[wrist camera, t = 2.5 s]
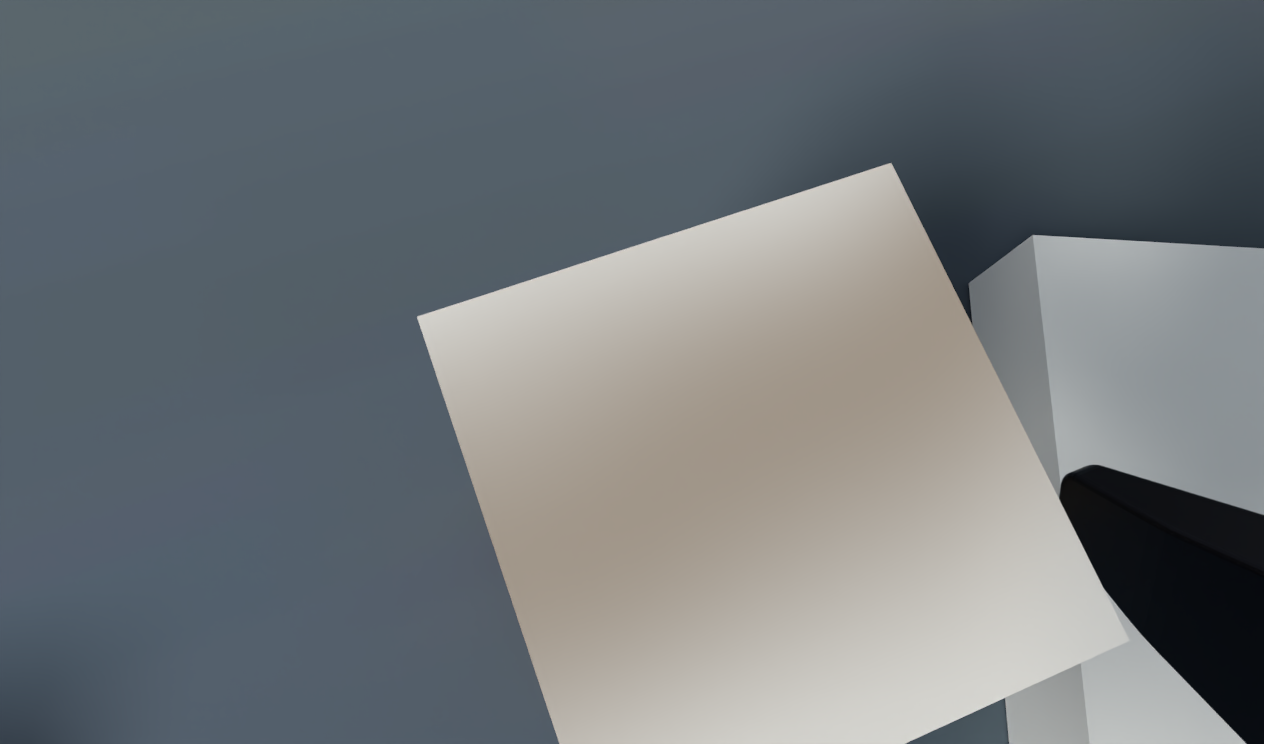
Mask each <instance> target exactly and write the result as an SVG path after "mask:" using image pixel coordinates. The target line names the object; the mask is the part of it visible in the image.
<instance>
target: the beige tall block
mask: <svg viewBox="0 0 1264 744" xmlns="http://www.w3.org/2000/svg"><path fill="white" fill-rule="evenodd" d="M417 318H418V321H419V324H420V327H421V330H422V333H423V336H424V339H425V342H426V345H427V348H428V351H429V354H430V357H431V360H432V363H433V366H434V369H435V372H436V375H437V378H438V381H439V384H440V387H441V390H442V393H443V396H444V399H445V402H446V405H447V408H448V411H449V414H450V417H451V420H452V423H453V426H454V429H455V432H456V435H457V438H458V441H459V444H460V447H461V450H462V453H463V456H464V459H465V462H466V465H467V468H468V471H469V474H470V477H471V480H472V483H473V486H474V489H475V492H476V495H477V498H478V501H479V504H480V507H481V510H482V513H483V516H484V519H485V522H486V525H487V528H488V531H489V534H490V537H491V540H492V543H493V546H494V549H495V552H496V555H497V558H498V561H499V564H500V567H501V570H502V573H503V576H504V579H505V582H506V585H507V588H508V591H509V594H510V597H511V600H512V603H513V606H514V609H515V612H516V615H517V618H518V621H519V624H520V627H521V630H522V633H523V636H524V639H525V642H526V645H527V648H528V651H529V654H530V657H531V660H532V663H533V666H534V669H535V672H536V675H537V678H538V681H539V684H540V687H541V690H542V693H543V696H544V699H545V702H546V705H547V708H548V711H549V714H550V717H551V720H552V723H553V726H554V729H555V732H556V735H557V738H558V741H559V744H905V743H907V742H909V741H912V740H914V739H916V738H918V737H920V736H923V735H925V734H927V733H929V732H931V731H933V730H936V729H938V728H940V727H942V726H944V725H947V724H949V723H951V722H953V721H955V720H957V719H960V718H962V717H964V716H966V715H968V714H971V713H973V712H975V711H977V710H979V709H981V708H984V707H986V706H988V705H990V704H992V703H995V702H997V701H999V700H1001V699H1003V698H1005V697H1008V696H1010V695H1012V694H1014V693H1016V692H1019V691H1021V690H1023V689H1025V688H1027V687H1029V686H1032V685H1034V684H1036V683H1038V682H1040V681H1043V680H1045V679H1047V678H1049V677H1051V676H1053V675H1056V674H1058V673H1060V672H1062V671H1064V670H1067V669H1069V668H1071V667H1073V666H1075V665H1078V664H1080V663H1082V662H1084V661H1086V660H1088V659H1091V658H1093V657H1095V656H1097V655H1099V654H1102V653H1104V652H1106V651H1108V650H1110V649H1112V648H1115V647H1117V646H1119V645H1121V644H1123V643H1126V642H1128V641H1130V640H1129V638H1128V636H1127V634H1126V632H1125V630H1124V628H1123V626H1122V624H1121V622H1120V620H1119V618H1118V616H1117V614H1116V612H1115V610H1114V608H1113V606H1112V604H1111V602H1110V600H1109V598H1108V596H1107V594H1106V592H1105V590H1104V588H1103V586H1102V584H1101V582H1100V580H1099V578H1098V576H1097V574H1096V572H1095V570H1094V568H1093V566H1092V564H1091V562H1090V560H1089V558H1088V556H1087V554H1086V552H1085V550H1084V548H1083V546H1082V544H1081V542H1080V540H1079V538H1078V536H1077V534H1076V532H1075V530H1074V528H1073V526H1072V524H1071V522H1070V520H1069V518H1068V516H1067V514H1066V512H1065V510H1064V508H1063V506H1062V504H1061V502H1060V500H1059V498H1058V496H1057V494H1056V492H1055V490H1054V488H1053V486H1052V484H1051V482H1050V480H1049V478H1048V476H1047V474H1046V472H1045V470H1044V468H1043V466H1042V464H1041V462H1040V460H1039V458H1038V456H1037V454H1036V452H1035V450H1034V448H1033V446H1032V444H1031V442H1030V440H1029V438H1028V436H1027V434H1026V432H1025V430H1024V428H1023V426H1022V424H1021V422H1020V420H1019V418H1018V416H1017V414H1016V412H1015V410H1014V408H1013V406H1012V404H1011V402H1010V400H1009V398H1008V396H1007V394H1006V392H1005V390H1004V388H1003V386H1002V384H1001V382H1000V380H999V378H998V376H997V374H996V372H995V370H994V368H993V366H992V364H991V362H990V360H989V358H988V356H987V354H986V352H985V350H984V348H983V346H982V344H981V342H980V340H979V338H978V336H977V334H976V332H975V330H974V328H973V326H972V324H971V322H970V320H969V318H968V316H967V314H966V312H965V310H964V308H963V306H962V304H961V302H960V300H959V298H958V296H957V294H956V292H955V290H954V288H953V286H952V284H951V282H950V280H949V278H948V276H947V274H946V272H945V270H944V268H943V266H942V264H941V262H940V260H939V258H938V256H937V254H936V252H935V250H934V248H933V246H932V244H931V242H930V240H929V238H928V236H927V234H926V232H925V230H924V228H923V226H922V224H921V222H920V220H919V218H918V216H917V214H916V212H915V210H914V208H913V206H912V204H911V202H910V200H909V198H908V196H907V194H906V192H905V190H904V188H903V186H902V184H901V181H900V180H899V177H898V175H897V173H896V171H895V169H894V167H893V165H892V163H889V164H886V165H883V166H880V167H877V168H874V169H871V170H868V171H865V172H861V173H858V174H855V175H852V176H849V177H846V178H843V179H840V180H837V181H834V182H831V183H828V184H825V185H821V186H818V187H815V188H812V189H809V190H806V191H803V192H800V193H797V194H794V195H791V196H788V197H785V198H781V199H778V200H775V201H772V202H769V203H766V204H763V205H760V206H757V207H754V208H751V209H748V210H745V211H741V212H738V213H735V214H732V215H729V216H726V217H723V218H720V219H717V220H714V221H711V222H708V223H705V224H701V225H698V226H695V227H692V228H689V229H686V230H683V231H680V232H677V233H674V234H671V235H668V236H664V237H661V238H658V239H655V240H652V241H649V242H646V243H643V244H640V245H637V246H634V247H631V248H628V249H624V250H621V251H618V252H615V253H612V254H609V255H606V256H603V257H600V258H597V259H594V260H591V261H588V262H584V263H581V264H578V265H575V266H572V267H569V268H566V269H563V270H560V271H557V272H554V273H551V274H548V275H544V276H541V277H538V278H535V279H532V280H529V281H526V282H523V283H520V284H517V285H514V286H511V287H507V288H504V289H501V290H498V291H495V292H492V293H489V294H486V295H483V296H480V297H477V298H474V299H471V300H467V301H464V302H461V303H458V304H455V305H452V306H449V307H446V308H443V309H440V310H437V311H434V312H431V313H427V314H424V315H421V316H418V317H417Z"/></svg>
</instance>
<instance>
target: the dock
mask: <svg viewBox="0 0 1264 744" xmlns="http://www.w3.org/2000/svg"><path fill="white" fill-rule="evenodd" d="M969 293H970V304H971V315H972V326H973V328H974V330H975V332H976V334H977V336H978V338H979V340H980V342H981V344H982V346H983V348H984V350H985V352H986V354H987V356H988V358H989V360H990V362H991V364H992V366H993V368H994V370H995V372H996V374H997V376H998V378H999V380H1000V382H1001V384H1002V386H1003V388H1004V390H1005V392H1006V394H1007V396H1008V398H1009V400H1010V402H1011V404H1012V406H1013V408H1014V410H1015V412H1016V414H1017V416H1018V418H1019V420H1020V422H1021V424H1022V426H1023V428H1024V430H1025V432H1026V434H1027V436H1028V438H1029V440H1030V442H1031V444H1032V446H1033V448H1034V450H1035V452H1036V454H1037V456H1038V458H1039V460H1040V462H1041V464H1042V466H1043V468H1044V470H1045V472H1046V474H1047V476H1048V478H1049V480H1050V482H1051V484H1052V486H1053V488H1054V490H1055V492H1056V494H1057V496H1058V498H1059V495H1060V487H1061V482H1062V479H1063V477H1064V476H1065V475H1066V474H1068V473H1070V472H1073V471H1075V470H1077V469H1080V468H1082V467H1085V466H1088V465H1101V466H1105V467H1108V468H1111V469H1115V470H1118V471H1121V472H1124V473H1128V474H1131V475H1134V476H1138V477H1141V478H1144V479H1147V480H1151V481H1154V482H1157V483H1161V484H1164V485H1167V486H1170V487H1174V488H1177V489H1180V490H1184V491H1187V492H1190V493H1193V494H1197V495H1200V496H1203V497H1207V498H1210V499H1213V500H1216V501H1220V502H1223V503H1226V504H1230V505H1233V506H1236V507H1240V508H1243V509H1246V510H1249V511H1253V512H1256V513H1259V514H1263V515H1264V249H1263V248H1246V247H1229V246H1212V245H1195V244H1178V243H1161V242H1144V241H1127V240H1110V239H1093V238H1076V237H1059V236H1042V235H1032V236H1031V237H1029V238H1028V239H1027V240H1025V241H1024V242H1023V243H1021V244H1020V245H1019V246H1017V247H1016V248H1015V249H1013V250H1012V251H1011V252H1009V253H1008V254H1007V255H1005V256H1004V257H1003V258H1001V259H1000V260H999V261H997V262H996V263H995V264H993V265H992V266H991V267H989V268H988V269H987V270H985V271H984V272H983V273H982V274H980V275H979V276H978V277H976V278H975V279H974V280H972V281H971V282H970V283H969ZM1105 592H1106V591H1105ZM1106 594H1107V596H1108V598H1109V600H1110V602H1111V604H1112V606H1113V608H1114V610H1115V612H1116V614H1117V616H1118V618H1119V620H1120V622H1121V624H1122V626H1123V628H1124V630H1125V632H1126V634H1127V636H1128V638H1129V640H1130V641H1128V642H1126V643H1123V644H1121V645H1119V646H1117V647H1115V648H1112V649H1110V650H1108V651H1106V652H1104V653H1102V654H1099V655H1097V656H1095V657H1093V658H1091V659H1088V660H1086V661H1084V662H1082V663H1080V664H1078V665H1075V666H1073V667H1071V668H1069V669H1067V670H1064V671H1062V672H1060V673H1058V674H1056V675H1053V676H1051V677H1049V678H1047V679H1045V680H1043V681H1040V682H1038V683H1036V684H1034V685H1032V686H1029V687H1027V688H1025V689H1023V690H1021V691H1019V692H1016V693H1014V694H1012V695H1010V696H1008V697H1005V702H1006V714H1007V725H1008V737H1009V744H1246V743H1245V742H1244V741H1243V740H1242V739H1241V738H1240V737H1239V736H1238V735H1237V734H1236V733H1235V732H1234V731H1233V730H1232V729H1231V727H1230V726H1229V725H1228V724H1227V723H1226V722H1225V721H1224V720H1223V719H1222V718H1221V717H1220V716H1219V715H1218V714H1217V713H1216V712H1215V711H1214V710H1213V709H1212V708H1211V707H1210V706H1209V705H1208V704H1207V703H1206V702H1205V701H1204V700H1203V699H1202V698H1201V696H1200V695H1199V694H1198V693H1197V692H1196V691H1195V690H1194V689H1193V688H1192V687H1191V686H1190V685H1189V684H1188V683H1187V682H1186V681H1185V680H1184V679H1183V678H1182V677H1181V676H1180V675H1179V674H1178V673H1177V672H1176V671H1175V670H1174V669H1173V668H1172V667H1171V666H1170V664H1169V663H1168V662H1167V661H1166V660H1165V659H1164V658H1163V657H1162V656H1161V655H1160V654H1159V653H1158V652H1157V651H1156V650H1155V649H1154V648H1153V647H1152V646H1151V645H1150V643H1149V642H1148V641H1147V640H1146V639H1145V638H1144V637H1143V636H1142V635H1141V634H1140V632H1139V631H1138V630H1137V629H1136V628H1135V627H1134V625H1133V624H1132V623H1131V622H1130V621H1129V620H1128V618H1127V617H1126V616H1125V615H1124V613H1123V612H1122V611H1121V610H1120V608H1119V607H1118V606H1117V605H1116V603H1115V602H1114V601H1113V600H1112V598H1111V597H1110V596H1109V595H1108V593H1107V592H1106Z"/></svg>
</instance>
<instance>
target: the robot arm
mask: <svg viewBox="0 0 1264 744" xmlns="http://www.w3.org/2000/svg"><path fill="white" fill-rule="evenodd" d="M1059 500H1060V502H1061V504H1062V506H1063V508H1064V510H1065V512H1066V514H1067V516H1068V518H1069V520H1070V522H1071V524H1072V526H1073V528H1074V530H1075V532H1076V534H1077V536H1078V538H1079V540H1080V542H1081V544H1082V546H1083V548H1084V550H1085V552H1086V554H1087V556H1088V558H1089V560H1090V562H1091V564H1092V566H1093V568H1094V570H1095V572H1096V574H1097V576H1098V578H1099V580H1100V582H1101V584H1102V586H1103V588H1104V590H1105V591H1106V592H1107V593H1108V595H1109V596H1110V597H1111V598H1112V600H1113V601H1114V602H1115V603H1116V605H1117V606H1118V607H1119V608H1120V610H1121V611H1122V612H1123V613H1124V615H1125V616H1126V617H1127V618H1128V620H1129V621H1130V622H1131V623H1132V624H1133V625H1134V627H1135V628H1136V629H1137V630H1138V631H1139V632H1140V634H1141V635H1142V636H1143V637H1144V638H1145V639H1146V640H1147V641H1148V642H1149V643H1150V645H1151V646H1152V647H1153V648H1154V649H1155V650H1156V651H1157V652H1158V653H1159V654H1160V655H1161V656H1162V657H1163V658H1164V659H1165V660H1166V661H1167V662H1168V663H1169V664H1170V666H1171V667H1172V668H1173V669H1174V670H1175V671H1176V672H1177V673H1178V674H1179V675H1180V676H1181V677H1182V678H1183V679H1184V680H1185V681H1186V682H1187V683H1188V684H1189V685H1190V686H1191V687H1192V688H1193V689H1194V690H1195V691H1196V692H1197V693H1198V694H1199V695H1200V696H1201V698H1202V699H1203V700H1204V701H1205V702H1206V703H1207V704H1208V705H1209V706H1210V707H1211V708H1212V709H1213V710H1214V711H1215V712H1216V713H1217V714H1218V715H1219V716H1220V717H1221V718H1222V719H1223V720H1224V721H1225V722H1226V723H1227V724H1228V725H1229V726H1230V727H1231V729H1232V730H1233V731H1234V732H1235V733H1236V734H1237V735H1238V736H1239V737H1240V738H1241V739H1242V740H1243V741H1244V742H1245V743H1246V744H1264V515H1263V514H1259V513H1256V512H1253V511H1249V510H1246V509H1243V508H1240V507H1236V506H1233V505H1230V504H1226V503H1223V502H1220V501H1216V500H1213V499H1210V498H1207V497H1203V496H1200V495H1197V494H1193V493H1190V492H1187V491H1184V490H1180V489H1177V488H1174V487H1170V486H1167V485H1164V484H1161V483H1157V482H1154V481H1151V480H1147V479H1144V478H1141V477H1138V476H1134V475H1131V474H1128V473H1124V472H1121V471H1118V470H1115V469H1111V468H1108V467H1105V466H1101V465H1088V466H1085V467H1082V468H1080V469H1077V470H1075V471H1073V472H1070V473H1068V474H1066V475H1065V476H1064V477H1063V479H1062V482H1061V487H1060V495H1059Z"/></svg>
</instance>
